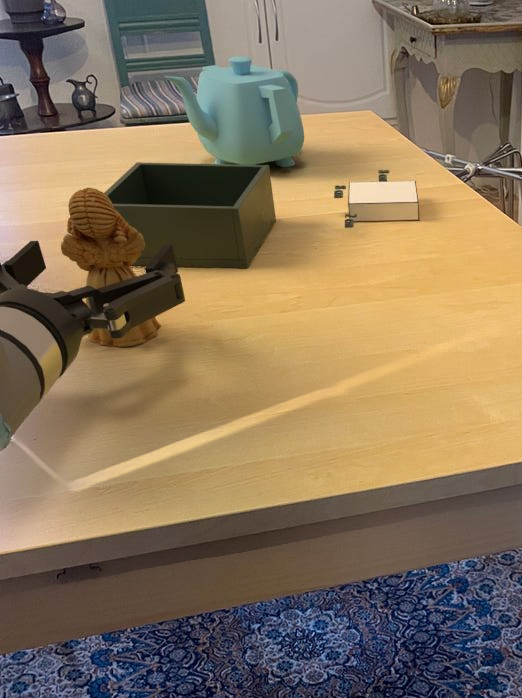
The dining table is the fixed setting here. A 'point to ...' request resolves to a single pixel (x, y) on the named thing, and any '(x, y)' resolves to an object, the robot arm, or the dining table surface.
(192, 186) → the bin
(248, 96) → the teapot
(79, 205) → the figurine
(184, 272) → the dining table surface
